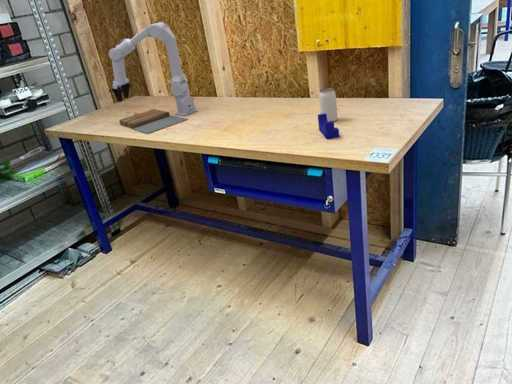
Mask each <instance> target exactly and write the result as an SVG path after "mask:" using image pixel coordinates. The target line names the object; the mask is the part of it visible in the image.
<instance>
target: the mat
mask: <svg viewBox="0 0 512 384" xmlns="http://www.w3.org/2000/svg"><path fill="white" fill-rule="evenodd" d="M188 120H189V118H185V117H182V116H181V117H180V116H176V115H170V116H169V117H166V118H163V119H160V120H157V121H154V122H151V123H148V124H145V125H142V126H139V127H137V128H134V129H132V131H136V132H139V133H143V134H147V135H149V134H153V133H155V132H158V131H161V130H163V129H167V128H169V127H172V126H175V125H177V124H180V123H182V122H185V121H188Z"/></svg>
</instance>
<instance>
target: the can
mask: <svg viewBox="0 0 512 384" xmlns="http://www.w3.org/2000/svg"><path fill="white" fill-rule="evenodd" d="M336 94H337V92H336V91H335V88H333V87H330V88H329V87H327V88H322V89H320V90H319V93H318V102H319V111H320V112H319V114H324V113H326V114H327V121H328V122H329V121H333V122H334V123H335V122H336V121H338V106H337V104H338V103H337V95H336Z"/></svg>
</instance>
